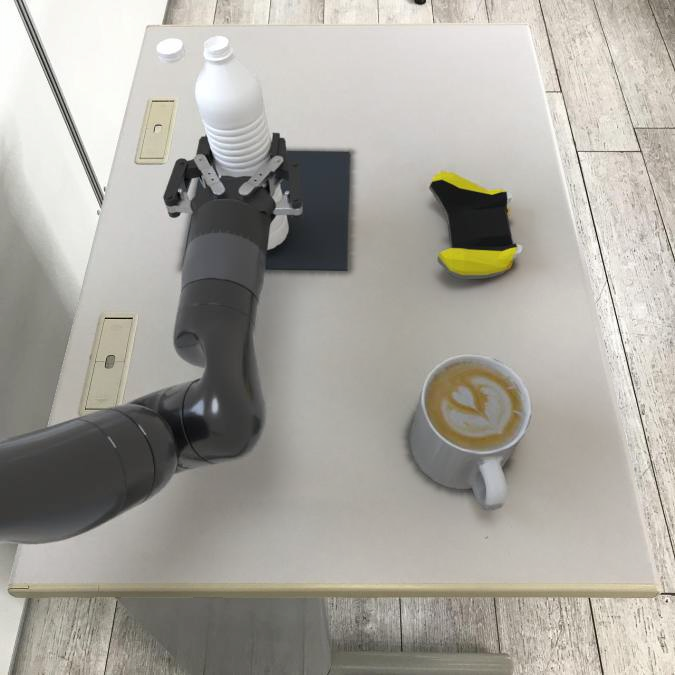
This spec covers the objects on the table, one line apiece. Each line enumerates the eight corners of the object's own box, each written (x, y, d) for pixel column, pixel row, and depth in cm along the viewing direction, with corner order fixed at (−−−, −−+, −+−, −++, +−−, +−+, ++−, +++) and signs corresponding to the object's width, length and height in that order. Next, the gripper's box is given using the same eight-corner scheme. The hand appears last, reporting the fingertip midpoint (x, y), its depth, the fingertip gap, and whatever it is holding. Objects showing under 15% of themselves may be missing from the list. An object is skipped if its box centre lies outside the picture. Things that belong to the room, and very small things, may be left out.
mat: (182, 267, 77) (181, 266, 77) (203, 150, 88) (203, 149, 87) (346, 270, 77) (347, 269, 77) (349, 152, 87) (349, 151, 87)
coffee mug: (407, 398, 68) (417, 353, 60) (499, 398, 69) (522, 353, 60) (415, 524, 62) (428, 494, 53) (518, 523, 62) (547, 493, 53)
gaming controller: (434, 291, 76) (518, 290, 76) (441, 263, 71) (530, 262, 71) (424, 196, 83) (501, 195, 83) (429, 165, 78) (511, 164, 78)
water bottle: (289, 211, 80) (252, 18, 59) (288, 250, 76) (249, 59, 56) (220, 216, 80) (160, 27, 60) (217, 255, 77) (151, 68, 56)
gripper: (159, 282, 63) (185, 162, 72) (303, 286, 63) (312, 165, 72) (139, 233, 57) (170, 108, 66) (299, 237, 57) (309, 110, 65)
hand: (244, 138), depth 69 cm, fingers closed on water bottle, 6 cm apart
